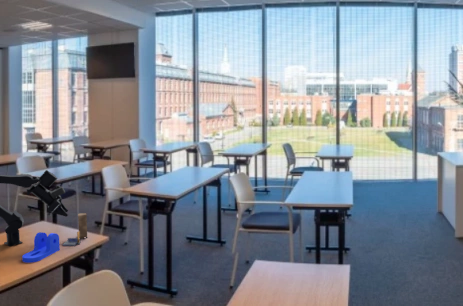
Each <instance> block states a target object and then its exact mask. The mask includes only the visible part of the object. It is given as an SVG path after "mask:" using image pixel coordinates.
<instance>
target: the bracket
mask: <svg viewBox="0 0 463 306" xmlns="http://www.w3.org/2000/svg"><path fill="white" fill-rule="evenodd" d="M33 246H34V248H33V249H32V250H31V251H29V252H26V253H24V254H23V255H22V259H21V260H22V262H23V263H26V264H27V263H30V264H31V263H37V262H40V261H42V260H43V259H45V258H48V257H49V256H51V255H53V254H56V253H58V252H59V251H61V250H60V249H61V248H60V236H59V234H58V233H55V232H54V233H53V232H50V233H49V234H47V233H46V232H42V231H41V232H40V231H38V232H37V233H36V235H35V236H34V240H33Z"/></svg>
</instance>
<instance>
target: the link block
mask: <svg viewBox="0 0 463 306" xmlns="http://www.w3.org/2000/svg"><path fill="white" fill-rule="evenodd" d="M77 217H78V218H77V219H78V223H77V224H78V232H79V238H80V239H85V238H84V237H87V238H88V224H87V223H88V219H87V217H88V216H87V213H86V212H81V213H78V214H77Z"/></svg>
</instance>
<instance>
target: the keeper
mask: <svg viewBox="0 0 463 306" xmlns="http://www.w3.org/2000/svg"><path fill="white" fill-rule="evenodd" d="M80 239H81V238H80ZM80 239H79V231H77V232H76V237H68V238H67V240H65V242H64V243H62V246H64V247H75V246H77V245H81V244H80V243H82V242H81V240H80Z"/></svg>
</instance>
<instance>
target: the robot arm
mask: <svg viewBox="0 0 463 306" xmlns="http://www.w3.org/2000/svg"><path fill="white" fill-rule="evenodd" d="M57 180H58V177H57V176H56V174H54V172H51V171H50V170H48V169H45V171H44V172H43V173H42V174H41V175H40V176H32V175H31V174H28V173H25V174H17V175H9V174H0V184H4V185H5V184H6V185H8V184H9V185H14V186H17V187H20V188H24V189H26V195H27V196H29V195H30V194H31V193H32V194H33V195H34V196H35V197H36V198H38V199H39V201H40V202H42V203H44V204H45V205H46V207H47V212H48V213H51V214H55V215H59V216H63V217H68V216H69V214H68V211H69V209H67V207H66V206H65V205H64V203H63V202H62V195H65V194H66V191H65V189H64V186H60V185H56V186H55V189H54V190H50V189H48V187H49V188H50V187H51V186H52V185H53V184H54V183H55V182H56V181H57ZM22 215H23V214H21V213H19V212H18V211H17V210H15V209H14V210H13V211H10V210H8V209H7V208H5V207H4V206H2V205H1V204H0V218H2V219H3V221H4V222H5V224H7V225H6V227H5V229H4V232H5V233H6V241H5V242H4V245H6V246H9V247H12V246H17V245H20V244H23V243H24V242H23V241H22V240H21V237H20V235H21V234H20V229H21V228H22V227H23V225H24V221H25V219H24V217H23V216H22Z"/></svg>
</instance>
